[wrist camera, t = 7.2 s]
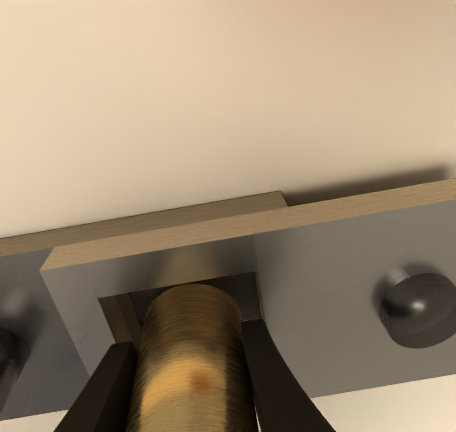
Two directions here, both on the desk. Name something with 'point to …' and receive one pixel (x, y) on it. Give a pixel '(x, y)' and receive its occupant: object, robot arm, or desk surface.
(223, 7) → the desk surface
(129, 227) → the square cutout plate
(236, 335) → the brass pin
